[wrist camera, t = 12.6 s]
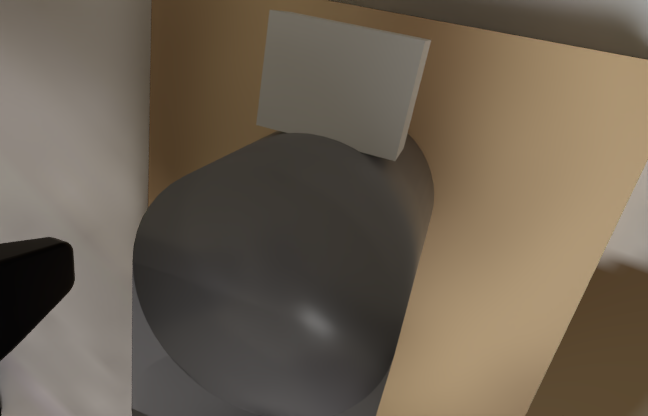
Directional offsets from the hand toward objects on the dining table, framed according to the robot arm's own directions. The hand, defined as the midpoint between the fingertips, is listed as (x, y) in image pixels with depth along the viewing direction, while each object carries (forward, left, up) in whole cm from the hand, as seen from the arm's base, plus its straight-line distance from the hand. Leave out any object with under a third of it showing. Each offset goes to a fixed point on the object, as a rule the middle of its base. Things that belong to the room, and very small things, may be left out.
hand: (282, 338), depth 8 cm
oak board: (0, 0, -5) cm, 5 cm away
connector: (0, 0, -4) cm, 4 cm away
